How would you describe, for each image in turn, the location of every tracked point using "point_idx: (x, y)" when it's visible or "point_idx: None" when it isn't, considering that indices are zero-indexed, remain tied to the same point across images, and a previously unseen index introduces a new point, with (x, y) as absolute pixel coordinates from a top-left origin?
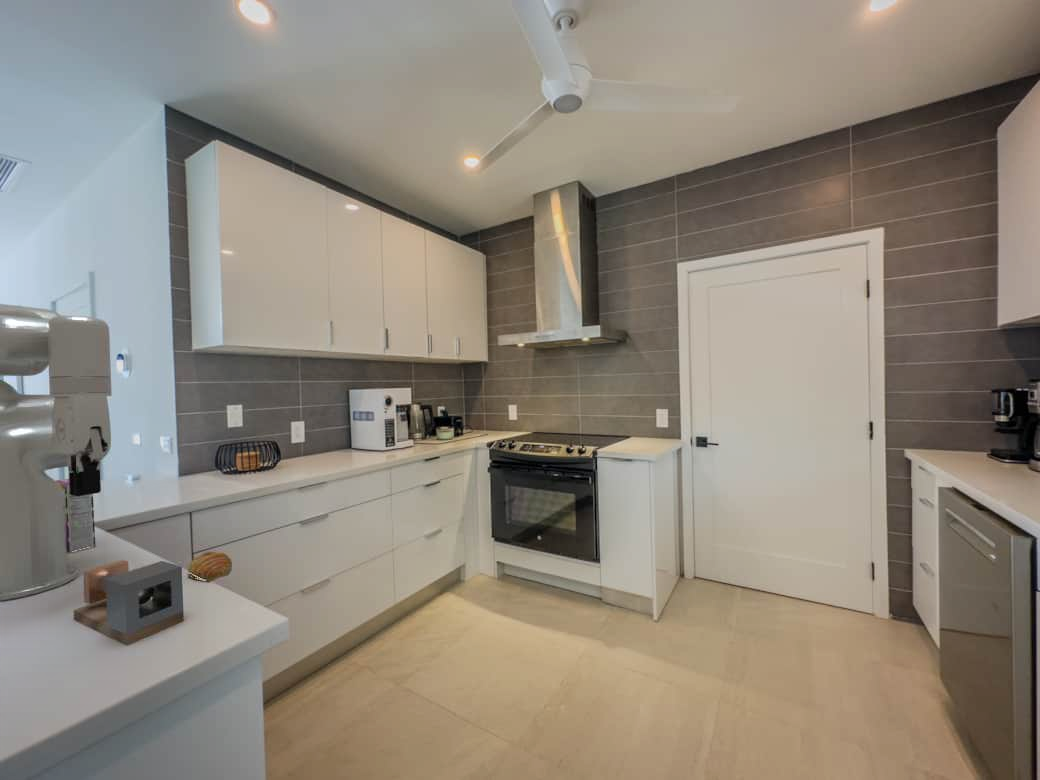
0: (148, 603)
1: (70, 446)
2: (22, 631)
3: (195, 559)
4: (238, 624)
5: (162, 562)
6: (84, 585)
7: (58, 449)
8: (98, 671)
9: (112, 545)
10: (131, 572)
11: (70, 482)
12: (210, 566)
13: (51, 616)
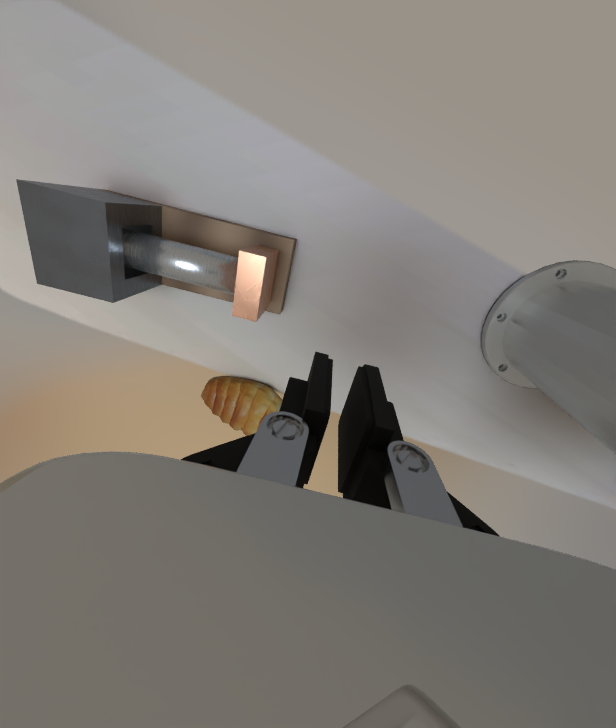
0: None
1: (49, 534)
2: (339, 187)
3: (269, 411)
4: (29, 271)
5: (101, 295)
6: (268, 252)
7: (470, 572)
8: (56, 119)
9: (583, 485)
10: (95, 241)
11: (372, 393)
12: (221, 395)
13: (352, 240)
